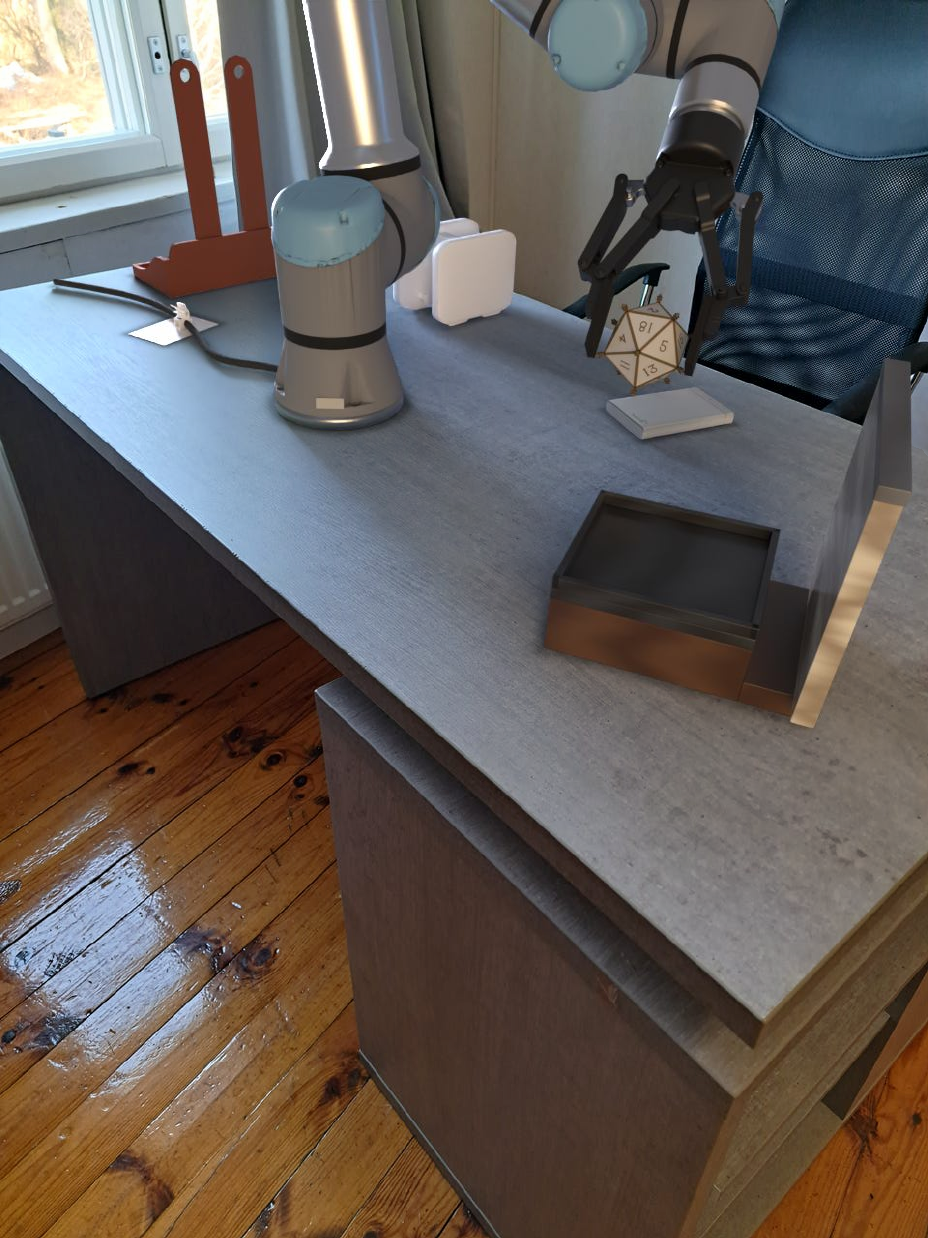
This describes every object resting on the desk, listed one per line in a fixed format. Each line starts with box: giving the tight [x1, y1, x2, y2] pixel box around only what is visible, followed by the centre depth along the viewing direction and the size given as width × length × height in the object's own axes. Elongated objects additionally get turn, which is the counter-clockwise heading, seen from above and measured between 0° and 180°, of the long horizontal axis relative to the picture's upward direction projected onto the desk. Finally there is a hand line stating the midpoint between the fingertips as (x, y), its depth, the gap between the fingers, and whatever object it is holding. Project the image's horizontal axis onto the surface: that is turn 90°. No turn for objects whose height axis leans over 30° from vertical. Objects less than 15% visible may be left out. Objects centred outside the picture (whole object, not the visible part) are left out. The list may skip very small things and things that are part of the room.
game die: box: [595, 293, 693, 397], centre depth 81 cm, size 9×8×10 cm
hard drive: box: [605, 386, 735, 440], centre depth 101 cm, size 2×8×12 cm
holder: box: [543, 357, 913, 729], centre depth 64 cm, size 20×20×21 cm
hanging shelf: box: [131, 54, 277, 299], centre depth 130 cm, size 24×13×30 cm, turn 130°
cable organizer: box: [392, 217, 517, 327], centre depth 125 cm, size 15×11×12 cm
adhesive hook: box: [169, 301, 193, 331], centre depth 119 cm, size 3×3×3 cm
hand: (638, 360), depth 79 cm, fingers closed on game die, 8 cm apart
